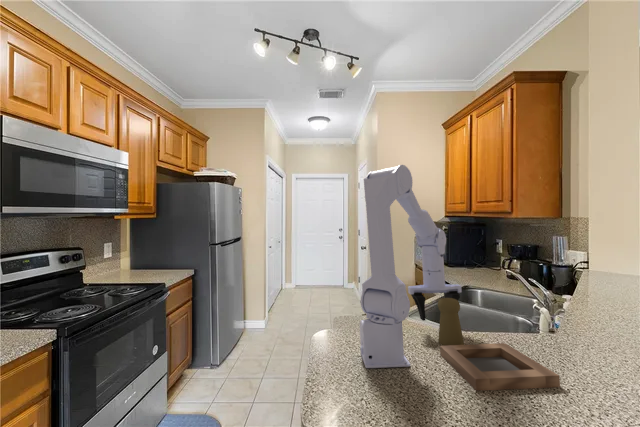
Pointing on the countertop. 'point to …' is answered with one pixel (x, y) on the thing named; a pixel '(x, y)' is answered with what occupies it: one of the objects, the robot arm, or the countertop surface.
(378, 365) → the robot arm
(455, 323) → the cork
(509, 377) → the holder
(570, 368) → the countertop surface
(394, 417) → the countertop surface
